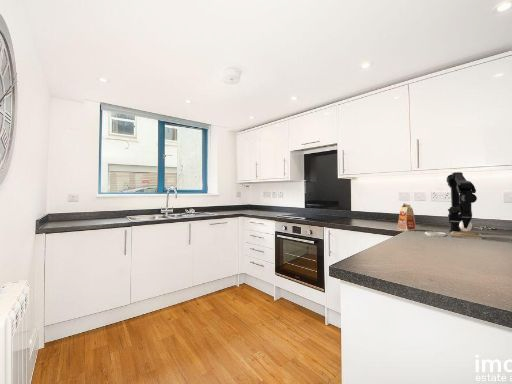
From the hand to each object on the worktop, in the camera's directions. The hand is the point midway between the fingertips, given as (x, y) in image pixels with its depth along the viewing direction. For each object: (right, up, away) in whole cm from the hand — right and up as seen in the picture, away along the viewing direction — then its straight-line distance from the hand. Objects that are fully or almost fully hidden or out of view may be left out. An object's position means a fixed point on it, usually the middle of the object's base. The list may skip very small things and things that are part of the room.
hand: (465, 227), depth 150 cm
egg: (0, -2, 0) cm, 2 cm away
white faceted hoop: (-14, -6, +7) cm, 17 cm away
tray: (0, -6, 0) cm, 6 cm away
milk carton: (-17, -6, +32) cm, 37 cm away
